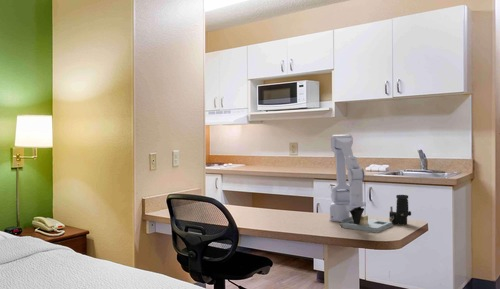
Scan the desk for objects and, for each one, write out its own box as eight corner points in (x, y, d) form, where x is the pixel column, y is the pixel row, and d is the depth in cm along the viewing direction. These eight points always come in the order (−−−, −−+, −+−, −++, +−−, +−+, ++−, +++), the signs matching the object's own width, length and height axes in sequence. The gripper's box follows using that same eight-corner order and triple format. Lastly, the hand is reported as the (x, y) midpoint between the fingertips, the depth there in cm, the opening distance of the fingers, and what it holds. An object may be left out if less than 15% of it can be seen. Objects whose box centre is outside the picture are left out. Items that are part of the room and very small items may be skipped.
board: (341, 227, 196) (341, 219, 196) (357, 221, 208) (357, 214, 207) (376, 232, 184) (376, 224, 183) (392, 226, 195) (392, 218, 195)
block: (356, 224, 193) (355, 215, 193) (360, 222, 196) (360, 214, 195) (363, 225, 190) (363, 216, 190) (368, 223, 193) (367, 215, 193)
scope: (389, 193, 205) (410, 194, 201) (389, 221, 205) (411, 222, 202) (388, 196, 197) (411, 197, 194) (389, 225, 198) (411, 226, 194)
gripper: (356, 197, 180) (356, 228, 180) (371, 193, 191) (372, 222, 191) (342, 196, 185) (342, 225, 185) (357, 192, 196) (358, 220, 196)
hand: (356, 224), depth 189 cm, fingers closed
